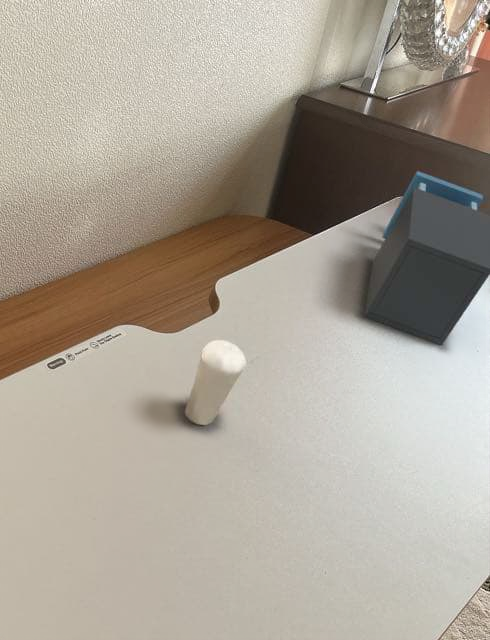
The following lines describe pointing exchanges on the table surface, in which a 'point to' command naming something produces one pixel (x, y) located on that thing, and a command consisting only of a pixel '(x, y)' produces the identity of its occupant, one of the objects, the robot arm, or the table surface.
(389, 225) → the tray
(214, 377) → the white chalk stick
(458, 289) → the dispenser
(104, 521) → the table surface
